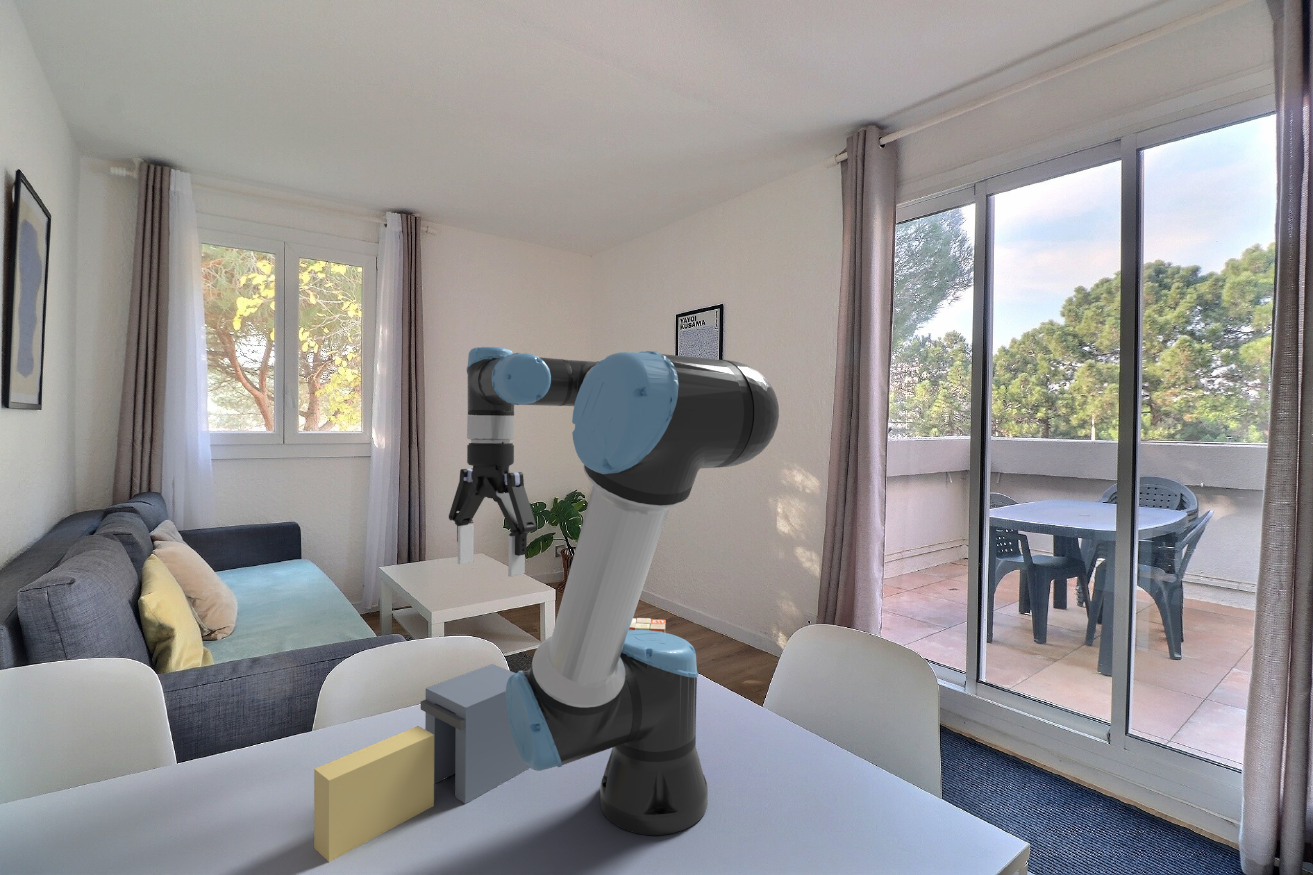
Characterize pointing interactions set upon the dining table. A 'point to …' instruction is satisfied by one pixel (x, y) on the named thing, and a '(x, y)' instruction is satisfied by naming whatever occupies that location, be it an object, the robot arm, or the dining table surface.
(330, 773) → the upright yellow slab
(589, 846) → the dining table surface
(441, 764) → the dispenser
